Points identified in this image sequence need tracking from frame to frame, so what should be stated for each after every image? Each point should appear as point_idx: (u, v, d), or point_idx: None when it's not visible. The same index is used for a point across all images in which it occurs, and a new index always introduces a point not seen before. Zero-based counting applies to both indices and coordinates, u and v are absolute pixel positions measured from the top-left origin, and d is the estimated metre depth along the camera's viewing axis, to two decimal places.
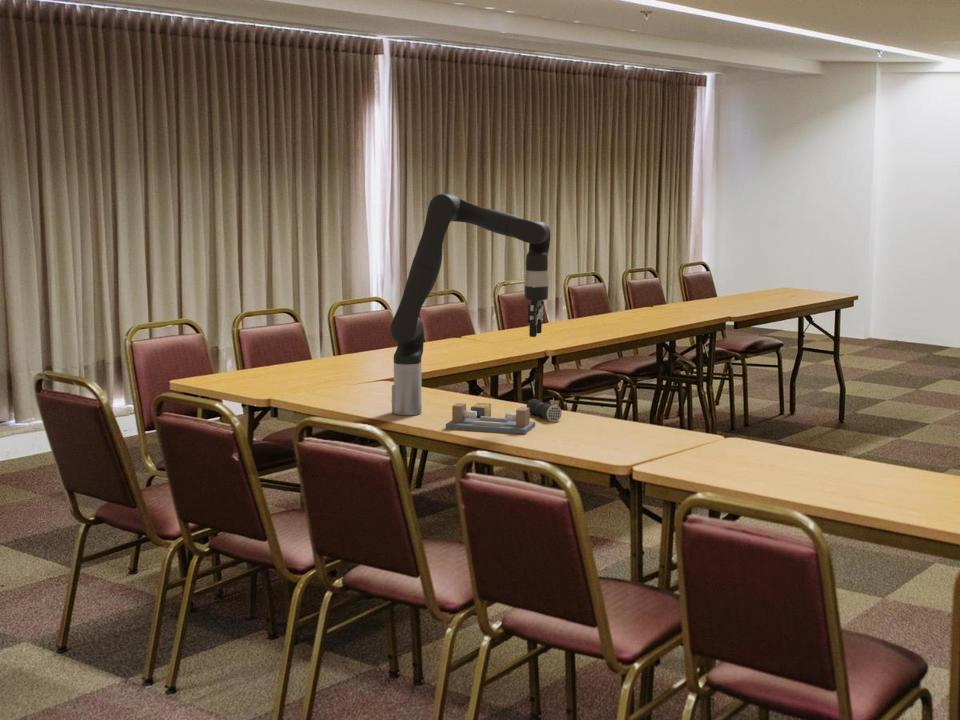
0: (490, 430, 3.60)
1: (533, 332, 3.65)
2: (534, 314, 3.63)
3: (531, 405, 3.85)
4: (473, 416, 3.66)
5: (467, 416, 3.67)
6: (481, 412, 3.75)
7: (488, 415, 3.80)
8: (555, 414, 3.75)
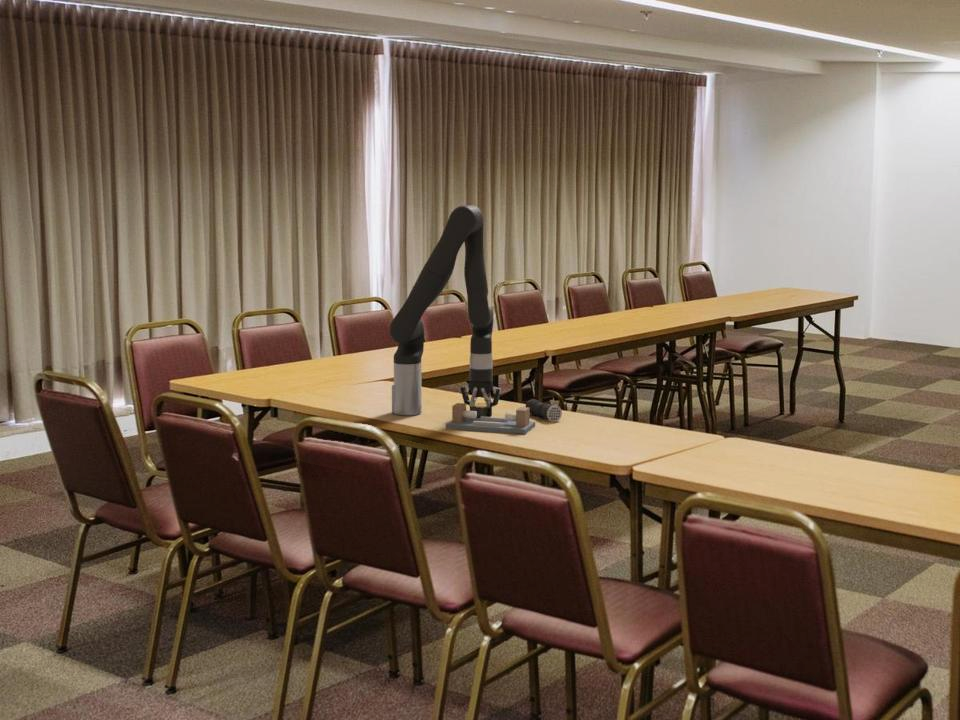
0: (490, 430, 3.60)
1: (491, 413, 3.78)
2: None
3: (530, 405, 3.84)
4: (473, 416, 3.66)
5: (467, 416, 3.67)
6: (481, 412, 3.75)
7: None
8: (555, 414, 3.75)
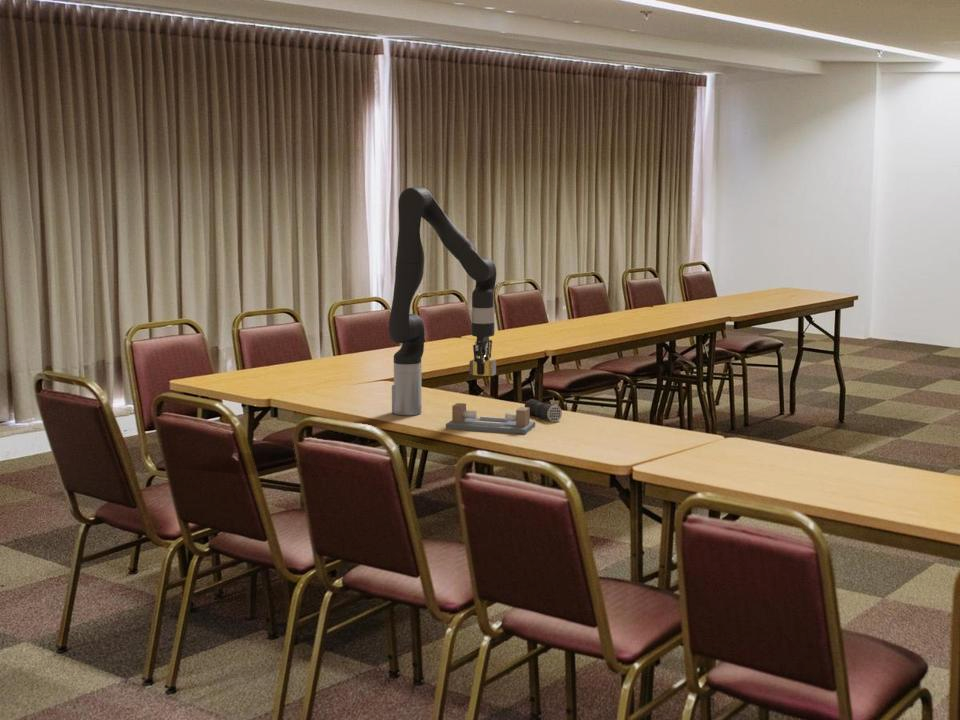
0: (490, 430, 3.60)
1: None
2: None
3: (530, 405, 3.84)
4: (473, 416, 3.66)
5: (467, 416, 3.67)
6: (495, 365, 3.75)
7: None
8: (556, 414, 3.75)
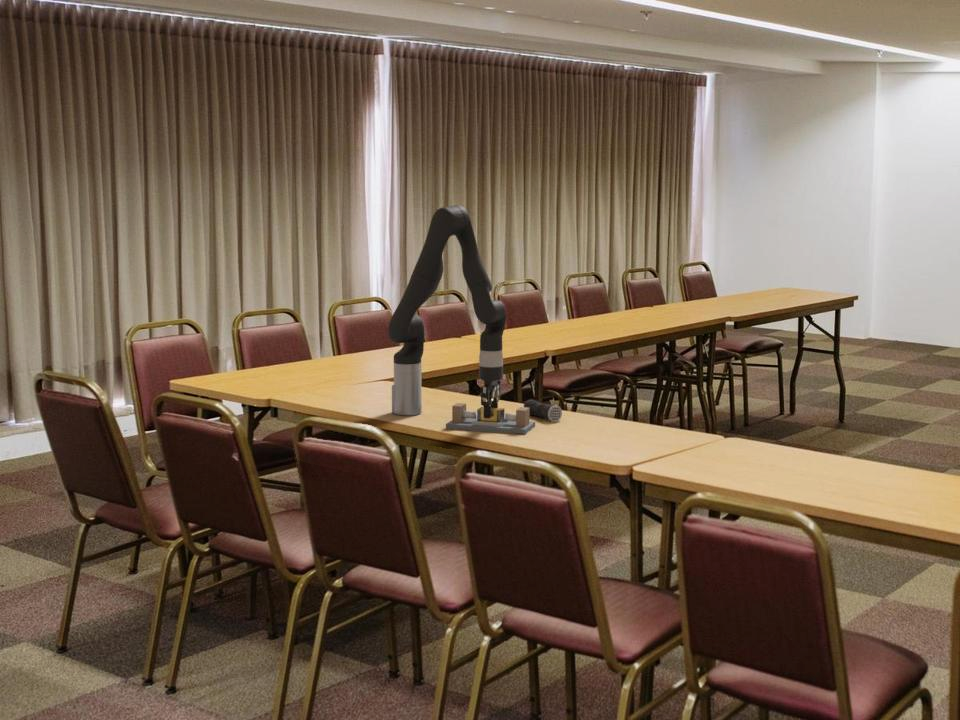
0: (490, 430, 3.60)
1: None
2: None
3: (529, 406, 3.84)
4: (473, 416, 3.66)
5: (467, 416, 3.67)
6: (503, 413, 3.65)
7: None
8: (556, 414, 3.75)
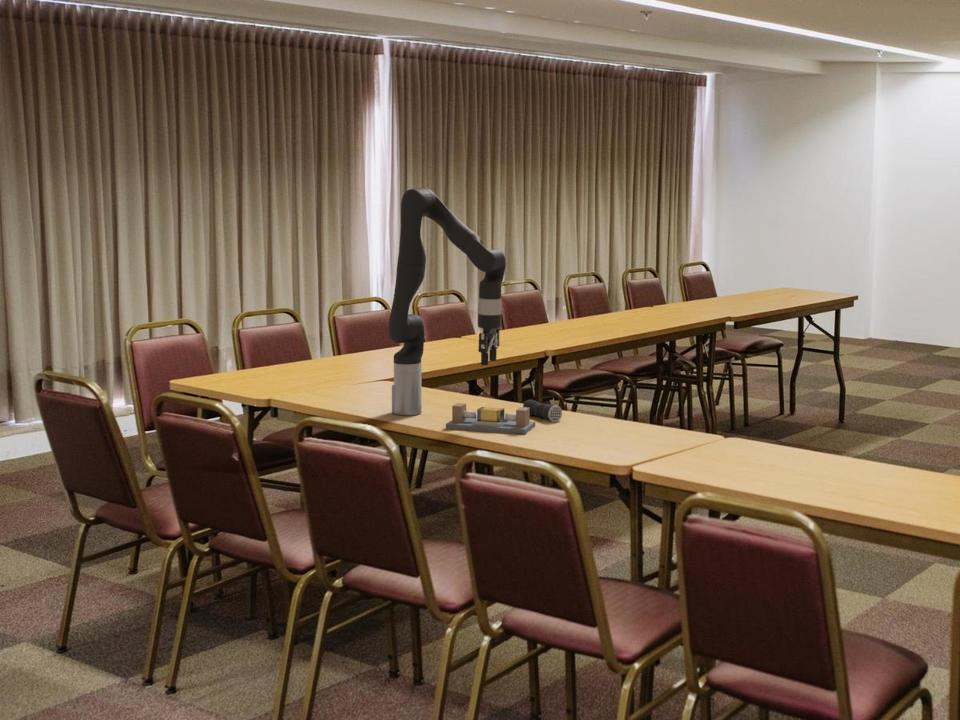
0: (490, 430, 3.60)
1: None
2: None
3: (529, 406, 3.84)
4: (473, 416, 3.66)
5: (467, 416, 3.67)
6: (503, 413, 3.65)
7: None
8: (556, 414, 3.75)
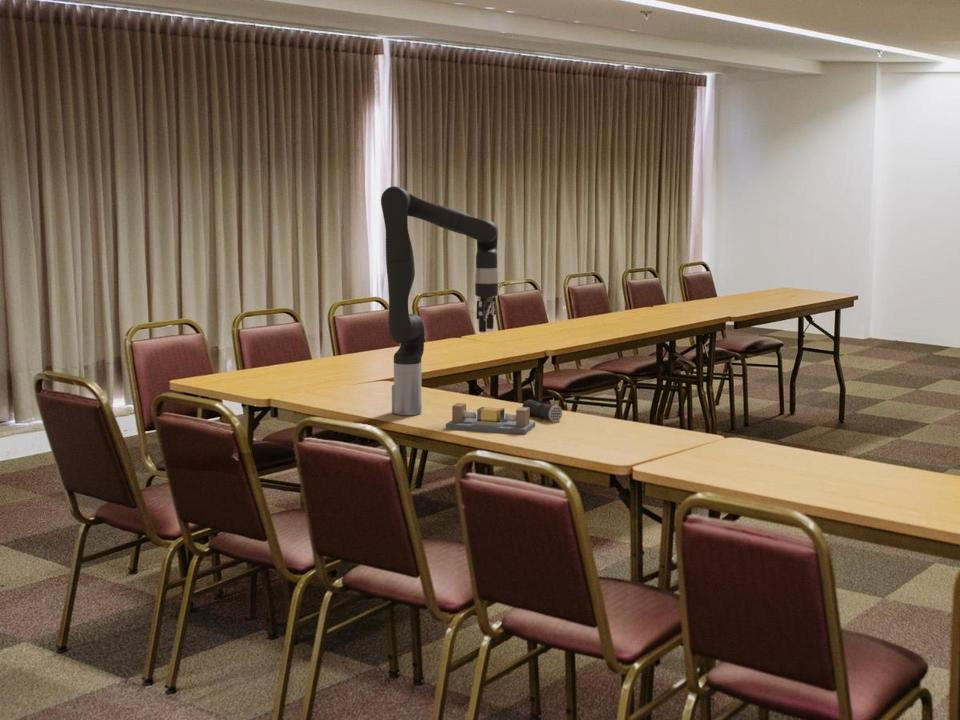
0: (490, 430, 3.60)
1: None
2: None
3: (528, 406, 3.83)
4: (473, 416, 3.66)
5: (467, 416, 3.67)
6: (503, 413, 3.65)
7: None
8: (556, 414, 3.75)
